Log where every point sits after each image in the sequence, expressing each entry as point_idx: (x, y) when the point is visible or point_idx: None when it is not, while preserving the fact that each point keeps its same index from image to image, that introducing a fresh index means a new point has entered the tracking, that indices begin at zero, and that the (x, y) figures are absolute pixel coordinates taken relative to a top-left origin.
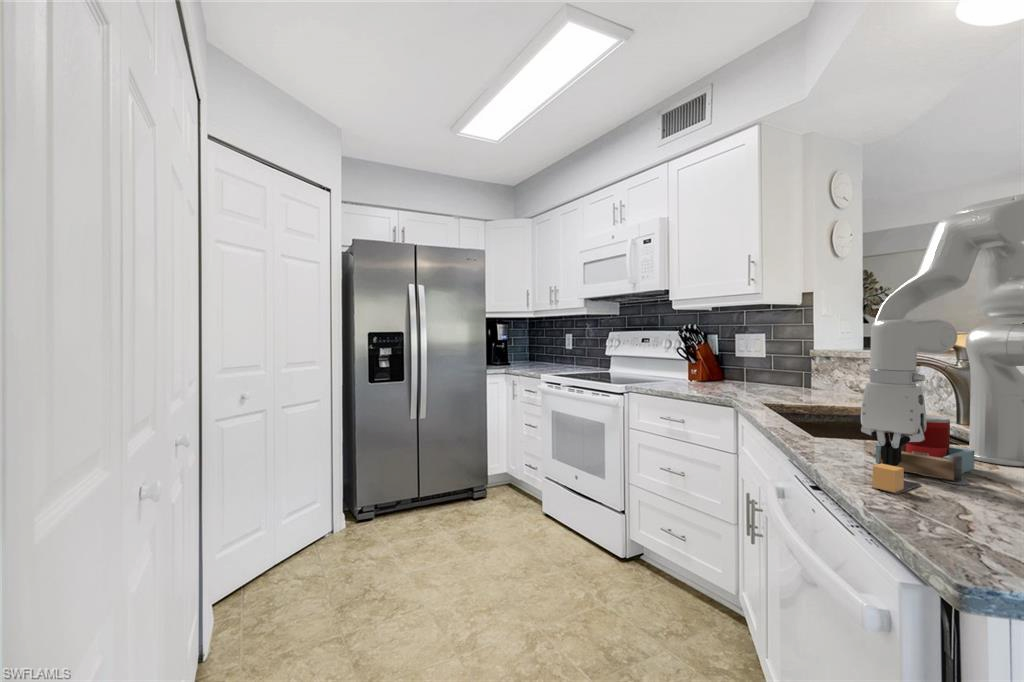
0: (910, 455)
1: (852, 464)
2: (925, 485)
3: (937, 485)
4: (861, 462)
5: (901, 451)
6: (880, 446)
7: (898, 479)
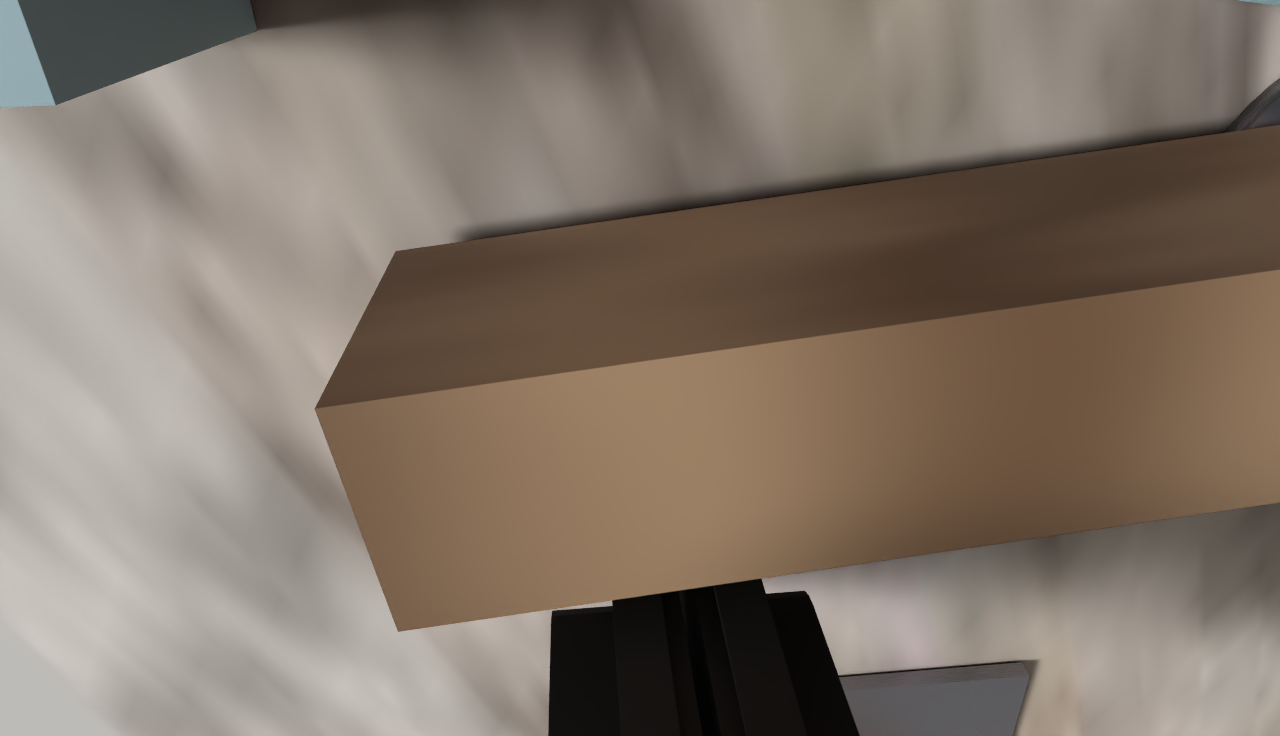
0: (951, 545)
1: (150, 506)
2: (1052, 616)
3: None
4: (76, 274)
5: (717, 376)
6: (12, 97)
7: None
